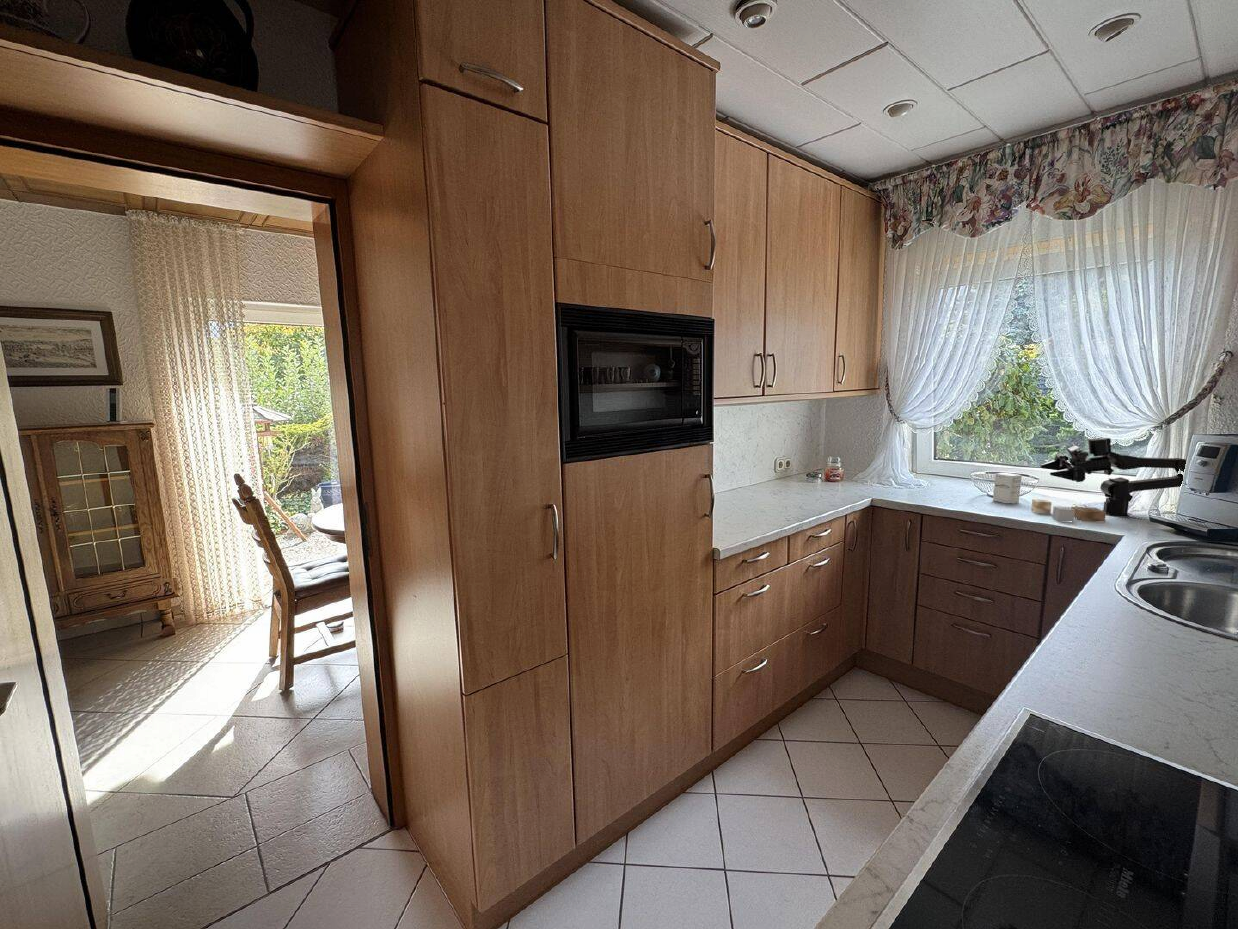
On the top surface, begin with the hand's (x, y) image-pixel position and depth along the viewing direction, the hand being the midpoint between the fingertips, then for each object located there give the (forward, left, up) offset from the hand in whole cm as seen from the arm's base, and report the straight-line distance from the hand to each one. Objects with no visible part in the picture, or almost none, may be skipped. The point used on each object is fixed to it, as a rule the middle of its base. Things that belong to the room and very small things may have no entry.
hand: (1045, 470), depth 230 cm
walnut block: (-11, +11, -17) cm, 24 cm away
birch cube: (+2, +4, -17) cm, 18 cm away
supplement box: (+9, -15, -17) cm, 24 cm away
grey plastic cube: (-1, +17, -17) cm, 24 cm away
